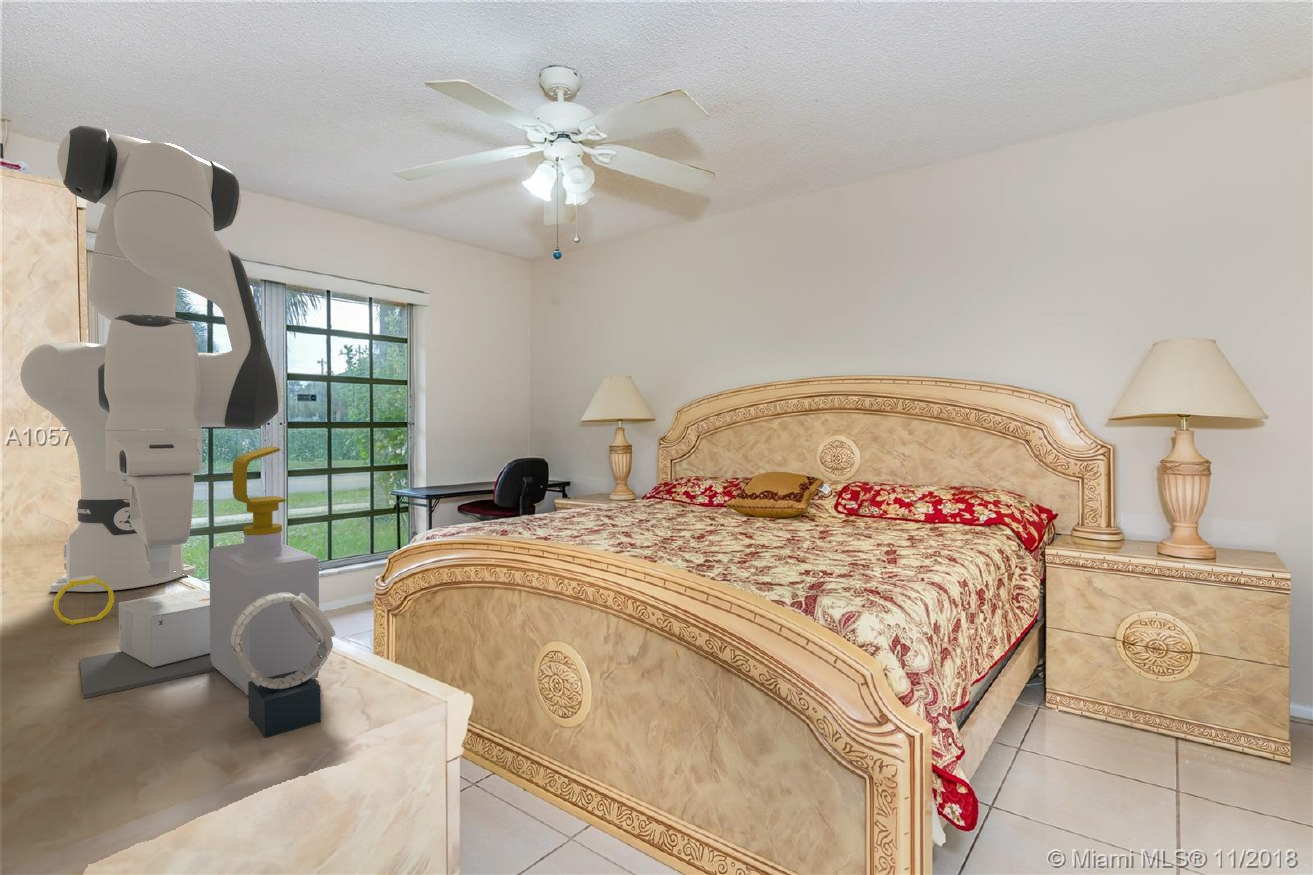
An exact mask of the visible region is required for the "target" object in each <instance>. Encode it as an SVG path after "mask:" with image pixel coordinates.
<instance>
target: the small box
mask: <svg viewBox="0 0 1313 875" xmlns="http://www.w3.org/2000/svg"><path fill="white" fill-rule="evenodd" d="M118 637H119V638H118V643H119V644H118V646H119V648H118V649H119V651H123V652H124V653H126V654H128V655H130V656H132V657H134V658H136V659H138V660H140V661H141V662H143V663H145V664H147V665H149V666H151V667H153V668H155V667H158V666H162V665H166V664H170V663H174V662H178V661H182V660H186V659H190V658H194V657H198V656H202V655H206V654H210V592H208V591H205V590H202V589H199V588H192V589H187V590H183V591H176V592H171V593H164V594H159V595H155V596H154V595H153V596H149V597H143V598H138V599H132V600H126V601H120V602H118Z"/></svg>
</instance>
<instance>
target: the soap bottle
mask: <svg viewBox="0 0 1313 875" xmlns="http://www.w3.org/2000/svg"><path fill="white" fill-rule="evenodd" d="M280 451H281V448H280V447H279V446H278V447H277V446H273V445H270V446H264V447H262V448H261V447H260V448H258V449H255V450H252V451H249V452H248V451H247V452H246V453H243V454H240V455H239V456H237V457H236V458H235V459H234V460H233V463H232V495H233V498H234V499H235V500H237V501H238V502H241V503H243V504H246V512H247V513H252V524H249V525H245V526H243V527H242V533H243V536H244V537H243V539H244V541H243V542H244V543H238V544H237V543H236V544H228V545H220V546H215V547H213V548H210V551H209V556H208V557H209V566H208V567H209V593H210V660H211V662H212V665H213V666H214V667H215V668H216V669H217V671H218V672H220V673H221V675H223V676H224V677H226V679H228V680H229V681H230V682H232V684H234V685H235V686H236V687H237V688H239V689H240V690H241V691H242V692H243V694H245V695H246V696H248V682H250V681H251V680H250V679H249V677H248V676H247V675H246V674H245V673H244V672H243V671H242V670H241V668H240V667H239V666H238V664H237V663H236V661H235V659H234V658H233V656H232V653H231V651H230V648H229V646H231V644H230V634H231V630H232V627H233V624H234V622H235V621H236V619H237V617H238V616H239V615H240V613H241V612H242V611H243V610H245V608H246V607H247V606H249V605H250V604H251V603H253V602H255V601H256V600H257V599H259V598H261V597H264V596H267V595H269V594H274V593H277V594H278V593H281V592H288V593H291V594H293V595H295V596H299V594H300V593H304V594H306V595H307V596H308V597H309V598H310V599H311V600H312V601H313V602H314V603H315V604H316V605H317V606H318V608H319V609H320V596H319V595H320V566H319V565H320V563H319V558H318V557H317V556H316V555H314V554H311V553H308V552H306V551H303V550H302V549H298V548H296V547H293V546H290V545H287V544H286V543H282V531H283V525H282V524H280V523H273V512H276V511H279V503H284V502H285V503H286V499H287V498H285V497H281V496H278V495H277V496H276V495H269V496H257V497H248V480H247V479H248V467H249V464H250V463H251V462H252V461H253V462H254V460H258V459H260V458H264V457H266V456H270V455H272V454H276V453H278V452H280ZM255 608H256V607H255ZM240 636H241V638H240V639H241V640H242V642H243V647H244V651H245V652H246V655H247V657H248V659H249V661H250V663H251V665H252V666H253V667H254V669H256V670H259V671H261V672H262V673H263V678H267V677H272V676H276V675H280V674H284V673H288V672H293V671H297V670H300V669H302V668H304V667H305V665H306V664H307V663H308V662H309V661H310V660H313V659H312V657H313V656H314V654H315V653H316V651H318V646H319V644H320V643H318V642H317V641H316V640H315V639H314V638H313V637H312V636H311V635H310V634H309V633H308V632H307V631H306V629H305V628H304V627H303V626H302V625H301V623H300V622H299V621H298V619H297V618H296V617H295V615H294V614H293V612H292V610H291V608H290V601H285V600H284V601H283V602H279V603H275V604H274V603H273V604H272V605H270V606H268V607H266V608H262V610H261V611H260V612H258V613H257V614H256V615H254V616H252V618H251V619H250V621H249V622H248V623H247V624H246V625H245V628H244V629H243V632H242V634H241V635H240ZM313 666H314V665H313ZM314 667H315V666H314ZM319 672H320V670H319V671H318V672H317V673H316V674H315V675H312V677H311V678H312V679H313V680H314V681H315V679H317V678H319V674H320V673H319Z"/></svg>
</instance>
